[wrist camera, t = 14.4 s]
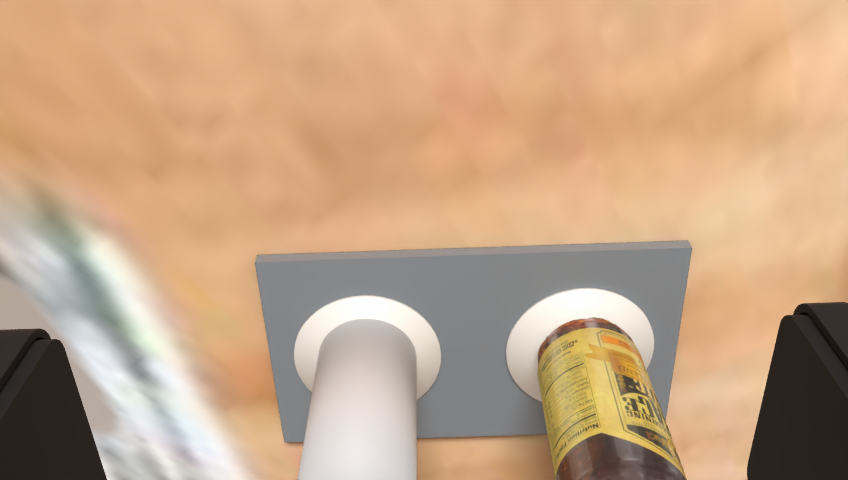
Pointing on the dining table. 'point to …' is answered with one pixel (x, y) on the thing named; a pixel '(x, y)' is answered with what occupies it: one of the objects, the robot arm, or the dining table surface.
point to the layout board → (446, 340)
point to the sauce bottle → (602, 407)
